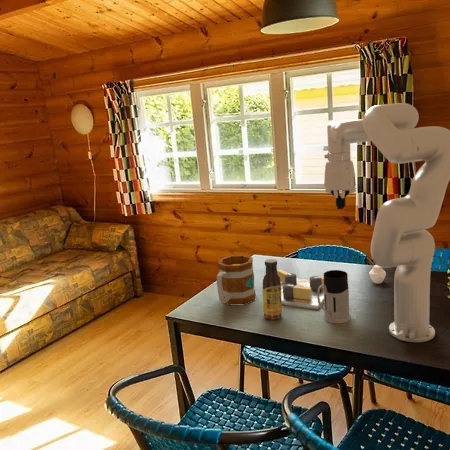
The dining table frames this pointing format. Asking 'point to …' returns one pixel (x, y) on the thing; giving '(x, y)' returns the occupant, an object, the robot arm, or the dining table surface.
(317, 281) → the knob right
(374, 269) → the white carved ornament
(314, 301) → the base plate
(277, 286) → the sauce bottle
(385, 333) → the dining table surface
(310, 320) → the dining table surface
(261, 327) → the dining table surface
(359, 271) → the dining table surface
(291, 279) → the knob left
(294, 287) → the knob front
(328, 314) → the glass holder
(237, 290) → the mug
